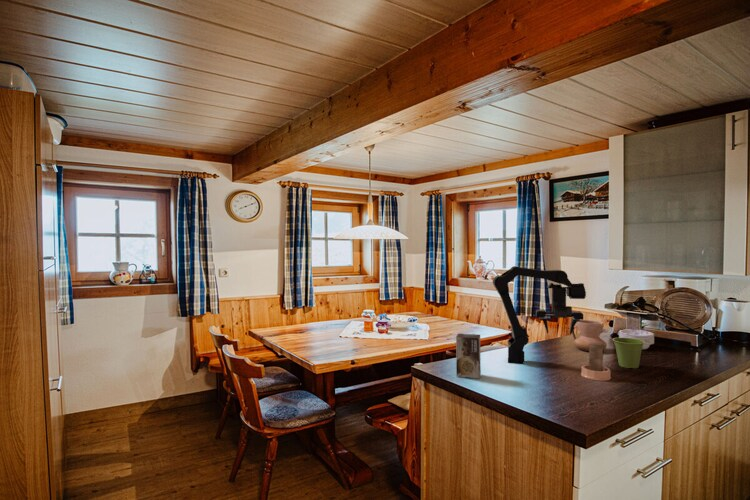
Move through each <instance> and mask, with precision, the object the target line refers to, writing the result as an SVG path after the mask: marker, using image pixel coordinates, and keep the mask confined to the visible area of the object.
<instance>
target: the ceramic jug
mask: <svg viewBox="0 0 750 500" xmlns="http://www.w3.org/2000/svg"><path fill="white" fill-rule="evenodd" d="M604 325H605V324H604V321H599V320H589V319H583V320H580V321H578V322H577V323H576V324H575V326H574V328H573V331H572V334H571V336H572V339H573V345H574V346H575V348H577V349H579V350H582V351H585V352H589V343H591V342H596V343H603V351H604V350H605V349H607V342H606V341H605V340H604V339H602V338H601V334H602V333H605V334H606V333H608V331H609V330H607V329H604ZM575 329H576V330H577V331H579V332H578V333H579V334H580V336H578V337H576V335H575Z"/></svg>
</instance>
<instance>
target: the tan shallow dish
mask: <svg viewBox="0 0 750 500" xmlns="http://www.w3.org/2000/svg"><path fill="white" fill-rule="evenodd" d="M580 375H581V377H582V378H585V379H588V380H592V381H601V382H604V381H606V382H607V381H610V380H611V378H612V377H611V369H610V368H609V367H606V366H603V371H593V370H589V364H583V365H582V366H581V372H580Z"/></svg>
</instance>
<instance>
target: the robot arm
mask: <svg viewBox="0 0 750 500" xmlns="http://www.w3.org/2000/svg"><path fill="white" fill-rule="evenodd" d="M517 276H519V277H527V278H536V279H542V280H547V281H549V282H550V281H551V282H550V283H549V284H548V285H547V286H546V288H547V289H551V311H546V309H536V310H535V317H536V318H539V320H542V323H543V325H544V328H545V330H546V334H549V327H548V326H549V325H548V318H547V317H554V318H556V319H558V318H559V319H560V318H562V319H567V318H570V322H569V323H570V324H569V335H570V336H572V331H573V328H574V326H575V325H577V322H578V321H580V320H584V313H583V312H582V311H577V310H572V309H573V307H572V306H568V305H567V297H568V298H569V299H570V300H584V299H585V298H586V297H587V291H586V287H585V283H581V282H580V283H579V282H578V283H572V282H571V281H570V279H569V278H568V277H569V276H568V274H567V273H566V271H564V270H561V269H546V270H542V269H537V268H536V269H534V268H528V267H520V266H517V265H516V266H515V265H514V266H512V267H510V268H509V269H508V270H506V271H504V272H503V273H501V274H500V275H496V276H494V277H493V278H492V285H493V287H494V288H495V291H496V292H497V293H498V295H499V296H500V299H501V302H502V305H503V308H504V310H505V313H506V316H507V318H508V320H509V321H508V322H509V325H510V331H511V337H510V338H508V340H507V344H508V346H507V350H508V351H507V363H508V364H509V363H510V364H521V365H522V364H523V365H524V362H525V351H524V348H525V346H526V345H528V343H529V338H530V335H528V331H527V327H525V326H524V325H521V323H520V320H519V318H518V315H517V312H516V309H515V307H514V303H513V302H512V299H511V295H510V288H509V283H511V281H513V280H514V279H515V278H516V277H517ZM555 283H556V284H555ZM562 285H563V286H562Z"/></svg>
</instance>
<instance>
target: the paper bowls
mask: <svg viewBox="0 0 750 500" xmlns="http://www.w3.org/2000/svg"><path fill="white" fill-rule="evenodd" d="M618 338H634V339H639V340H642V341H644V342H645V343H644V344H643V348H642V350H647V349H649V348H650V346H651V345H654V344H655V333H653V332H651V331H648V330H644V329H629V328H627V329H622V330H621V329H620V330H619V331H618Z"/></svg>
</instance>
